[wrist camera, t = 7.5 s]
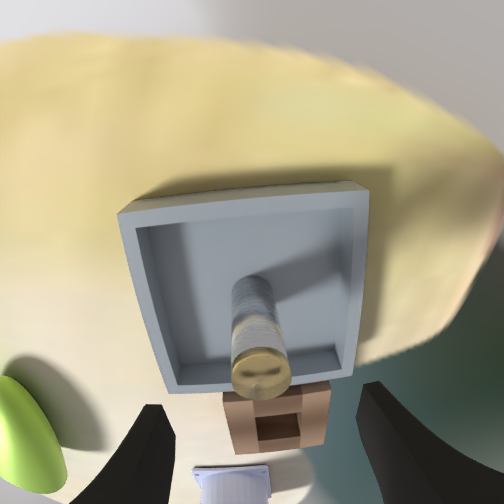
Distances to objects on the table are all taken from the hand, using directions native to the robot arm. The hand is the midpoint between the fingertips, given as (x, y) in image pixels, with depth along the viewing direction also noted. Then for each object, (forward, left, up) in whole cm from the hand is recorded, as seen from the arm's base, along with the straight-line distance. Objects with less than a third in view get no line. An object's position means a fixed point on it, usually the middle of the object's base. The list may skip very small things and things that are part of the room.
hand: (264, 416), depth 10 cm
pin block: (-10, -1, -9) cm, 14 cm away
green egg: (-15, +26, -10) cm, 31 cm away
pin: (0, 0, -9) cm, 9 cm away
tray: (0, 0, -9) cm, 9 cm away
